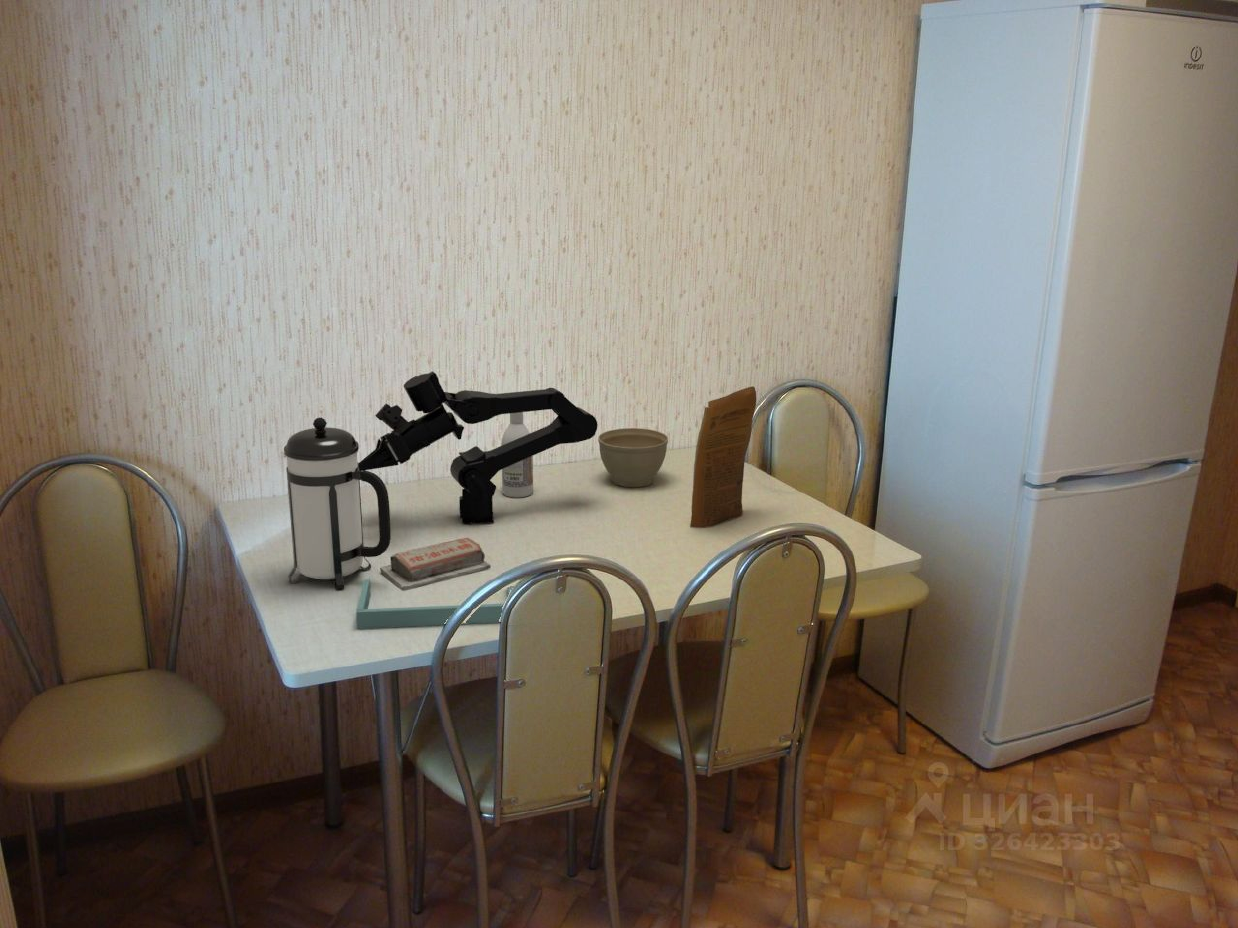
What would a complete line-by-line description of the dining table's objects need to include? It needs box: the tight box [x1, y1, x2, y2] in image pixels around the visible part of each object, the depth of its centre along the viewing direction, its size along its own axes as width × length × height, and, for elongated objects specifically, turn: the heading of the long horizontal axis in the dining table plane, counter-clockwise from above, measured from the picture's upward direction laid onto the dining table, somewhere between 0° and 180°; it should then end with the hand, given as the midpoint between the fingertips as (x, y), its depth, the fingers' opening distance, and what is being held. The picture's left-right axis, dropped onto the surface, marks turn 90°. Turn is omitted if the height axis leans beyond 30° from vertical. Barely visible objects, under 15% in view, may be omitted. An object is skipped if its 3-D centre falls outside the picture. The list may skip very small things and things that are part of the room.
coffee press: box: [283, 417, 392, 591], centre depth 195 cm, size 17×16×30 cm
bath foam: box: [500, 412, 534, 499], centre depth 242 cm, size 7×7×20 cm
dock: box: [355, 578, 515, 630], centre depth 186 cm, size 26×14×3 cm, turn 97°
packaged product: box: [379, 537, 492, 591], centre depth 202 cm, size 18×5×10 cm
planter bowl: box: [597, 427, 669, 488], centre depth 253 cm, size 16×16×11 cm
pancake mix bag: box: [689, 386, 757, 529], centre depth 227 cm, size 7×19×28 cm, turn 134°
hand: (357, 468), depth 215 cm, fingers open, 9 cm apart
